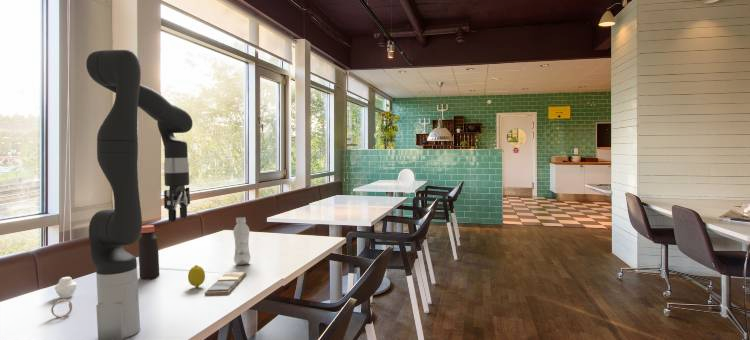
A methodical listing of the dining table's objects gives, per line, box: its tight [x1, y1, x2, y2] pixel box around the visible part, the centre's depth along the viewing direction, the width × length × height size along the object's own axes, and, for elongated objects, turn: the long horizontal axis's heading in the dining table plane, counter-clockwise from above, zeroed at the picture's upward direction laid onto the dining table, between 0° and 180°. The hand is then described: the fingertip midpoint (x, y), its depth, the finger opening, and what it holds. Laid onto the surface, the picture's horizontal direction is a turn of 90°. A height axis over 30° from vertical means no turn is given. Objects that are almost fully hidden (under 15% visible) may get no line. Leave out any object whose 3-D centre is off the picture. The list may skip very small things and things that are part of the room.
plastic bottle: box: [232, 216, 251, 266], centre depth 177 cm, size 6×7×20 cm
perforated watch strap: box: [50, 298, 73, 318], centre depth 124 cm, size 3×5×5 cm, turn 138°
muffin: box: [54, 276, 78, 299], centre depth 142 cm, size 6×6×7 cm
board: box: [204, 271, 247, 296], centre depth 151 cm, size 22×8×2 cm, turn 2°
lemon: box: [187, 264, 206, 288], centre depth 148 cm, size 6×6×8 cm
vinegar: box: [137, 224, 160, 280], centre depth 162 cm, size 7×7×20 cm
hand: (178, 219), depth 140 cm, fingers open, 8 cm apart
